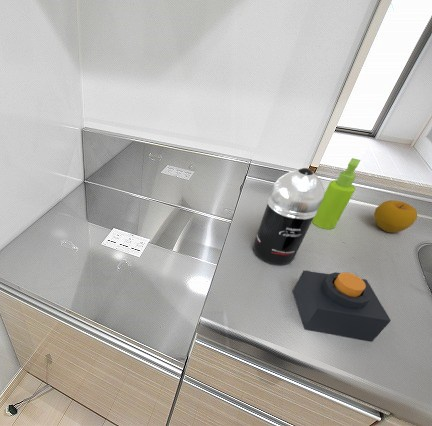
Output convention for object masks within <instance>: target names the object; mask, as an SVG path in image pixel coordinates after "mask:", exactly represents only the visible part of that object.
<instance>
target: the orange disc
mask: <svg viewBox="0 0 432 426" xmlns="http://www.w3.org/2000/svg"><path fill="white" fill-rule="evenodd" d="M339 273H340V274H339V275H338V277H337V278H336V280H335V281H334V286H335V288H336V289H338V290H339V291H340V292H341V293H343V294H346V295H348V296H351V297H358V296H360V295H361V293H362V292H363V290H364V289H365V288H366V285H365V282H364V281H363V280H362V279H363V278H361V277H360V276H358V275H356V274H354V273H351V272H339Z"/></svg>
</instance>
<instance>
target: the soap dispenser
mask: <svg viewBox="0 0 432 426" xmlns="http://www.w3.org/2000/svg"><path fill="white" fill-rule="evenodd" d="M360 162H361V159H358V158H355V157H354V158H353V157H352V158H351V159H350V161H349V162H348V164H347V167H346V169H345V170H342V171H340V173H339V175H338V177H337V179H334V180H331V181H329V183H328V185H327V187H326V190H325V191H324V198H323V200H322V202H321V204H320V206H319V208H318V211H317V214H316V216H315V217H314V218H313V220H312V222H311V223H312V224H313V225H315V226H316V227H318V228H320V229H324V230H333V229H335V227H336V225H337V224H338V222H339V221H340V218H341V217H342V215H343V213H344V211H345V209H346V206H348V203H349V202H350V200H351V198H352V196H353V194H354V193H355V191H356V186H355V185H353V183H354V181H355V179H356V177H357V174H355V171H356V169H357V168H358V166H359V164H360Z"/></svg>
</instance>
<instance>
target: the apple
mask: <svg viewBox="0 0 432 426" xmlns="http://www.w3.org/2000/svg"><path fill="white" fill-rule="evenodd" d="M373 217H374V222H375V225H376V226H377V227H378V228H380V230H382V231H384V232H387V233H391V234H392V233H394V234H395V233H400V232H403V231H405V230H407V229H409V228H410V227H411V226H413V225H414V223H415V222H416V220H417V219H418V212H417V209H416V208H415V207H414V206H412V205H410V204H409V203H407V202H404V201H400V200H393V199H392V200H391V199H390V200H386V201H384V202H381V203H380V204H379V205H378V206H377V207H376V208H375V210H374V212H373Z"/></svg>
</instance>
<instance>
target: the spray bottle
mask: <svg viewBox="0 0 432 426" xmlns="http://www.w3.org/2000/svg"><path fill="white" fill-rule="evenodd" d="M324 194H325V187H324V185H323V182H322V180H321V179H320V178H319V177H318V176H317V174H316V173H314V172H313V170H312V169H310V168H308V167H301V168H299V169H295V170H291V171H288V172H287V173H285V174H283V175H281V176H280V177H279V178H278V179H277V180H276V181H275V182H274V184H273V186H272V189H271V193H270V195H269V197H268V199H267V204H266V206H265V210H264V212H263V215H262V218H261V221H260V224H259V227H258V229H257V233H256V235H255V238H254V241H253V244H252V248H253V251H254V253H255V255H256V256H257V257H258V258H259V259H260V260H262V261H264V262H266V263H268V264H272V265H277V266H283V265H288V264H290V263H291V262H293V261H294V260H295V257H296V255H297V253H298V252H299V249H300V247H301V245H302V243H303V241H304V238H305V237H306V235H307V233H308V230H309V228H310V227H311V224H312V223H313V222H312V220H313V218H314V217H315V216H316V214H317V211H318V208H319V206H320V204H321V202H322V200H323V198H324Z"/></svg>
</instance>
